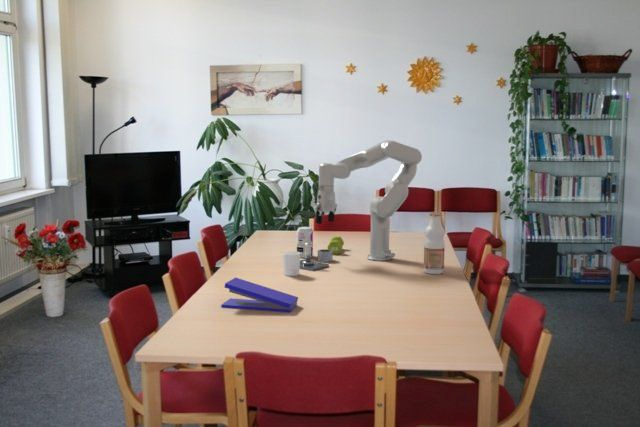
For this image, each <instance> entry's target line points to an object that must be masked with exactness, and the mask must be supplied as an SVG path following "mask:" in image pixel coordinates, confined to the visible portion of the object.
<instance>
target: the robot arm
mask: <svg viewBox="0 0 640 427" xmlns="http://www.w3.org/2000/svg"><path fill="white" fill-rule="evenodd" d="M422 156H423V154H422V152H421V151H420V150H419V149H418V148H416V147H414V146H413V147H411V146H409V145H407V144H403V143H400V142H397V141H394V140H389V139H387V140H384V141H382V142H379V143H378V144H375V145H373V146H371V147H369V148H367V149H365V150H363V151H359V152H358V153H357V152H356V153H355V154H353V155H350V156H347V157H346V158H343V159H342V160H339V161H337V162H336V163H334V164H333V163H327V162H326V163H322V162H321V163H320V164H319V166H318V190H317V194H316V205H315V206H313V210H314V214H315V224H319V225H322V224H323V222H322V221H323V216H322V214H323V212H324V213H328V217H327V218H328V222H331V223H334V222H335V214H336V211H337V207H338V204H337V203H336V193H335V190H334V189H335V187H334V186H335V185H334V184H335V179H339V180H346V179H348V178H349V177H350V175H351V173H352V172H353V171H355V170H359V169H365V168H371V167H372V166H375V165H376V164H379V163H380V162H382V161H385V160H387V159H389V158H390V159H393V160H395V161H398V162H400V166H399V169H398V170H397V172H396V173H395V175H393V177H392V178H391V179H390V181H388V183H386V186H384V187H385V188H384V193H385V194H384V196H376V197H373V199H372V200H371V202H370V204H369V213H370V248H369V250H370V251H369V253H370V254H367V255H366V258H367V259H368V260H371V261H376V262H377V261H380V262H382V261H385V262H386V261H390V260H392V258H395V256H396V253H395V252H392V250H391V249H390V225H391V224H390V223H391V222H390V220H391V219H390V217H392V216H393V215H394V214H395V213H396V212H397V211H398V209H399V208H400V207H401V206H402V205H403V204H404V202H405V200H407V198H408V195H409V185H410V184H411V183H412V181H413V180H414V179H415V176H416V174H417V169H418V164H420V163H421V161H422Z"/></svg>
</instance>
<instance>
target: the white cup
mask: <svg viewBox="0 0 640 427" xmlns="http://www.w3.org/2000/svg"><path fill="white" fill-rule="evenodd" d="M282 256H283V258H282V259H283V270H284V271H283V272H284V273H283V275H284V276H288V277H296V276H299V275H300V260H301V258H300V253H299V252H297V251H284V252H283V253H282Z"/></svg>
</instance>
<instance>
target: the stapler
mask: <svg viewBox="0 0 640 427" xmlns="http://www.w3.org/2000/svg"><path fill="white" fill-rule="evenodd" d="M224 288H225V289H227V290H229V291H228V292H229V293H231V294H235V295H239V296H242V297H244V298H232V297H231V298H229V299H227V300H226V301H224V302H223V303H222V304H220V307H221V308H225V309H226V308H227V309H242V310H251V311H252V310H253V311H268V312H269V311H270V312H281V313H291V312H292V311H293V310H294V309H295V308H296V307H297V306H298V301H299V300H298V299H299V297H298V296H296V295H292V294H288V293H286V292H282V291H280V290H276V289H273V288H270V287H267V286H264V285H261V284H259V283H254V282H251V281H247V280H245V279H241V278H238V277H234V278H231V279H230V280H228V281H227V282H225V283H224ZM245 298H246V299H245ZM248 298H249V299H248Z"/></svg>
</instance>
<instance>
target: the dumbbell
mask: <svg viewBox="0 0 640 427" xmlns="http://www.w3.org/2000/svg"><path fill="white" fill-rule="evenodd" d="M344 244H345V241H344V240H343V238H342V237H341V236H337V235H335V236H331V239H330V240H329V243H328V245H327V247H326V248H327V249H328V250H332V251H333V255H340V254H341V252H342V250H343V246H344Z"/></svg>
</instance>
